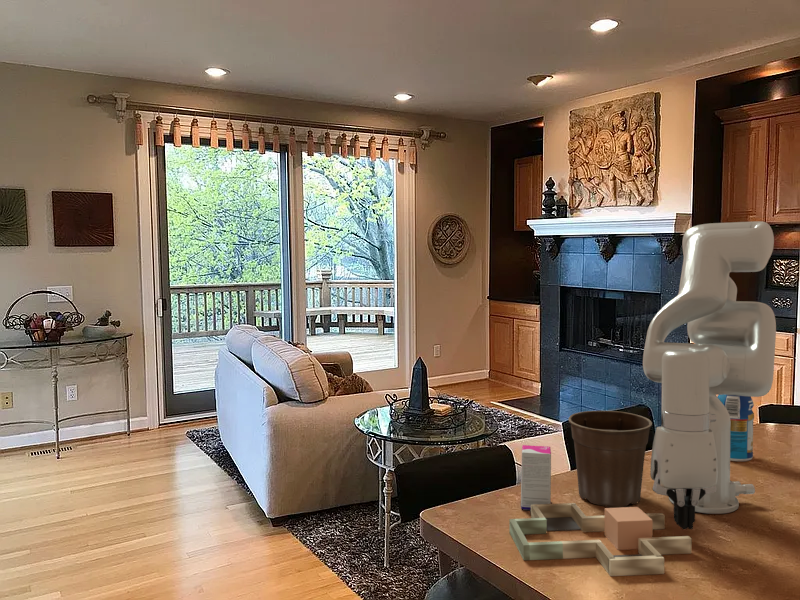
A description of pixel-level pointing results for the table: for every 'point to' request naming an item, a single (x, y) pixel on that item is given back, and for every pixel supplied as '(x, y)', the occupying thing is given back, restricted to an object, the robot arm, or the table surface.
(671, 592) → the table surface
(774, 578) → the table surface
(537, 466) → the supplement box
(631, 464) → the plant pot
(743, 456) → the blue cylindrical canister
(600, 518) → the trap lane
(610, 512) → the terracotta block
